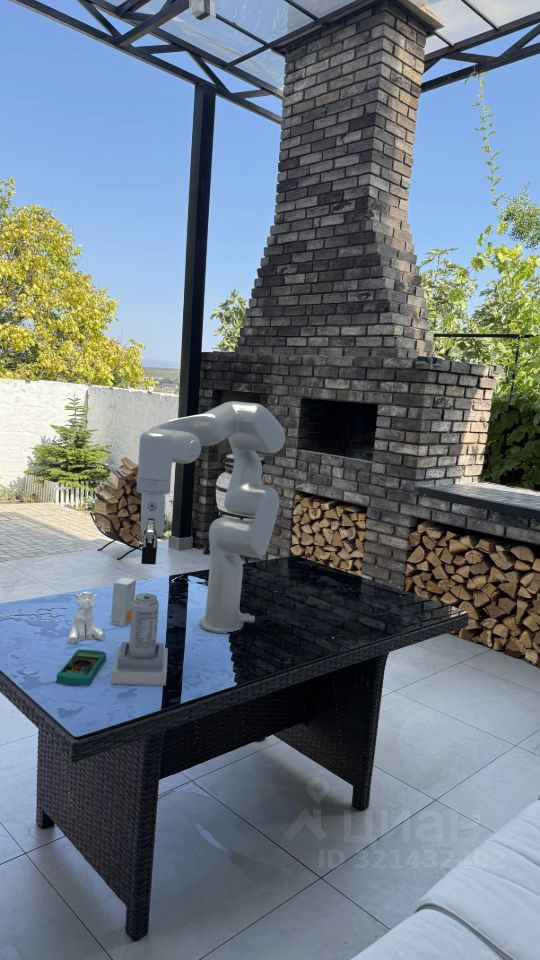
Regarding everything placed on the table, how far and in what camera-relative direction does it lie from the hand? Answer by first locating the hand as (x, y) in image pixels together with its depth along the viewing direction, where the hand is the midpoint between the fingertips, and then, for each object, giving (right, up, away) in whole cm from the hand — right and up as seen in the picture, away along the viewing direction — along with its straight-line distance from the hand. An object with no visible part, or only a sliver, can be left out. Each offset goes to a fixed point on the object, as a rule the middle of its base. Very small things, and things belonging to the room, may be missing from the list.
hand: (149, 558), depth 147 cm
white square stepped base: (-2, -27, 0) cm, 27 cm away
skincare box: (-14, -22, +31) cm, 40 cm away
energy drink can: (-2, -24, 0) cm, 24 cm away
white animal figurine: (-21, -23, +18) cm, 36 cm away
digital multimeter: (-15, -26, -2) cm, 30 cm away
